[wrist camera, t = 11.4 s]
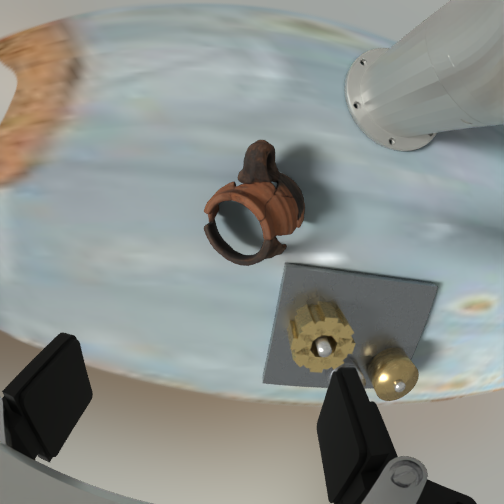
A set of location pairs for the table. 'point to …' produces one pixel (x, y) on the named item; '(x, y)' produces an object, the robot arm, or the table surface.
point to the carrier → (354, 327)
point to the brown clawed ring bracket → (259, 204)
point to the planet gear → (313, 326)
